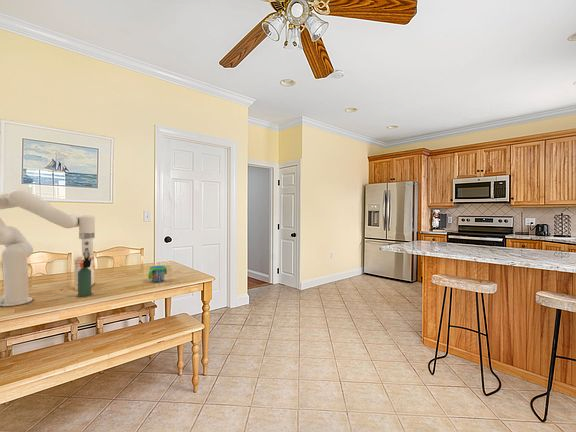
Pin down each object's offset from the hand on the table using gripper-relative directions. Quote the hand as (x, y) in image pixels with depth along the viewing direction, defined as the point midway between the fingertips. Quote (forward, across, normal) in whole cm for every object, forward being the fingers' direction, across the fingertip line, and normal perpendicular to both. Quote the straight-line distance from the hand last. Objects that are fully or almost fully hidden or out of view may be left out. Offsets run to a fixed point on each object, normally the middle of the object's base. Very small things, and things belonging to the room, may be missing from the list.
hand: (87, 265), depth 165 cm
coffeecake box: (+17, +22, +2) cm, 28 cm away
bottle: (+17, 0, +1) cm, 17 cm away
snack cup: (+17, +13, -40) cm, 46 cm away
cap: (+1, 0, +1) cm, 1 cm away
